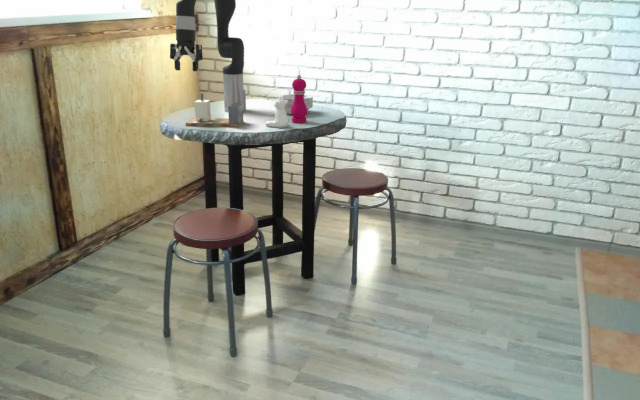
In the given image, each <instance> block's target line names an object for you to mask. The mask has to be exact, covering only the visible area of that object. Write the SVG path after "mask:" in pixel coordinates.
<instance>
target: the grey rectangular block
mask: <svg viewBox="0 0 640 400" xmlns="http://www.w3.org/2000/svg"><path fill="white" fill-rule="evenodd" d="M228 119H229V124H239V123H240V122H241V121H242V120H244V111H243V103H232V104H231V105H230V106H229V107H228Z"/></svg>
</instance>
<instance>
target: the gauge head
mask: <svg viewBox="0 0 640 400" xmlns="http://www.w3.org/2000/svg"><path fill="white" fill-rule="evenodd" d="M194 114H195V115H194V118H196V121H199V122H201V121H209V120H210V119H211V118H212V117H211V116H212V114H211V99H204V93H200V99H197V100H195V101H194Z"/></svg>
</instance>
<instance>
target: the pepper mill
mask: <svg viewBox="0 0 640 400" xmlns="http://www.w3.org/2000/svg"><path fill="white" fill-rule="evenodd" d="M291 83H292V84H291V87H292V88H293V93H292V94H294V96H295V99H294V103H293V105H292V108H291V114H290V115H291V116H292V117H291V123H294V124H305V123H307V117H306V116H307V115H308V112H309V111H308V112H307V107H306V105H305V102H304V95H306V88H307V81H306V80H305V79H303V78H302V75H301V74H298V75H297V76H296V78H295V79H294V80H293V81H292V82H291Z"/></svg>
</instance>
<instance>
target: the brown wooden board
mask: <svg viewBox="0 0 640 400" xmlns="http://www.w3.org/2000/svg"><path fill="white" fill-rule="evenodd" d="M243 123H244V119H243V120H242V121H241V122H240V123H239V124H229V118H218V117H211V119H210V120H209V121H201V122H199V121H196V117H191V119H189V120H188V121H186V122H185V126H186V127H209V128H210V127H214V128H215V127H217V128H218V127H219V128H239V127H240V126H241V125H242V124H243Z"/></svg>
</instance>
